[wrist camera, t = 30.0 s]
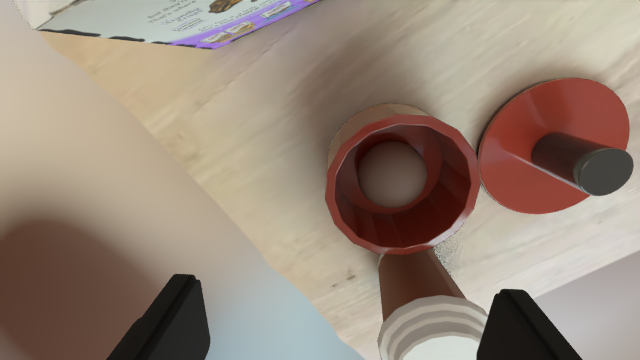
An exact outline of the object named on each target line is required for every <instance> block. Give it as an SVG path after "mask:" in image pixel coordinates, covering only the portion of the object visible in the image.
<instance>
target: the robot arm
mask: <svg viewBox="0 0 640 360" xmlns="http://www.w3.org/2000/svg"><path fill="white" fill-rule="evenodd" d="M209 347H210V334H209V328H208V323H207V317H206V312H205V305H204V299H203V294H202V288H201V282H200V280H196V278H195V276H194V275H188V274H175V275H173V276H172V277H171V279H170V280H169V282H168V283H167V284H166V286H165V287H164V288H163V289H162V291H161V292H160V293H159V295H158V296H157V298H156V299H155V300H154V301H153V303H152V304H151V306H150V307H149V308H148V310H147V311H146V312H145V314H144V315H143V316H142V317H141V318H139V319H138V320H137V321H136V322H135V323H134V324H133V325H132V326H131V328H130V329H129V330H128V332H127V333H126V334H125V336H124V337H123V338H122V339H121V341H120V342H119V344H118V345H117V346H116V347H115V349H114V350H113V351H112V353H111V354H110V355H109V357H108V358H107V359H106V360H204V359H205V357H206V355H207V353H208V350H209ZM476 358H477V360H582V359H581V357H580V356H579V355H578V354H577V352H576V351H575V350H574V349H573V348H572V346H571V345H570V344H569V343H568V342H567V340H566V339H565V338H564V337H563V336H562V334H561V333H560V332H559V331H558V329H557V328H556V327H555V326H554V325H553V323H552V322H551V321H550V320H549V319H548V317H547V316H546V315H545V314H544V313H543V311H542V310H541V309H540V308H539V307H538V305H537V304H536V303H535V302H534V300H533V299H532V298H531V297H530V296H529V294H528V293H527V292H526V291H524V290H517V289H502V290H501V291H500V293H499V294H496V295H495V296H494V299H493V302H492V306H491V309H490V312H489V315H488V318H487V321H486V325H485V328H484V331H483V334H482V337H481V341H480V344H479V347H478V350H477V354H476Z"/></svg>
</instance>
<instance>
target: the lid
mask: <svg viewBox="0 0 640 360" xmlns="http://www.w3.org/2000/svg"><path fill="white" fill-rule="evenodd" d="M629 130H630V129H629V119H628V114H627V111H626V109H625V106H624V104H623V103H622V101H621V100H620V98H619V97H618V96H617V95H616V94H615V93H614V92H613V91H612V90H611V89H609V88H608V87H606V86H605V85H602V84H600V83H598V82H595V81H592V80H589V79H582V78H560V79H554V80H550V81H546V82H543V83H540V84H537V85H535V86H533V87H531V88H529V89H527V90H525V91H523V92H522V93H520V94H519V95H517V96H516V97H514V98H513V99H512V100H510V101H509V102H508V103H507V104H506V105H505V106H504V107H503V108H502V109H501V110H500V111H499V112H498V113H497V114H496V116H495V117H494V118H493V119H492V121H491V122H490V124H489V126H488V127H487V129H486V131H485V133H484V135H483V137H482V140H481V143H480V146H479V152H478V167H479V173H480V179H481V182H482V184H483V186H484V188H485V190H486V191H487V193H488V194H489V195H490V196H491V197H492V198H493V199H494V200H495V201H497V202H498V203H499V204H501V205H502V206H504V207H506V208H508V209H510V210H513V211H516V212H520V213H526V214H545V213H551V212H556V211H560V210H563V209H566V208H568V207H571V206H573V205H575V204H577V203H579V202H581V201H583V200H584V199H586V198H587V197H589V196H590V195H593V196H603V195H607V194H610V193H612V192H614V191H616V190H618V189H619V188H621V187H622V186H623V185H624V184H625V183H626V182H627V181H628V179H629V178H630V176H631V174H632V172H633V166H634V165H633V159H632V157H631V156H630V155H629V154H628V153H627V152H626V151H625V150H626V148H627V144H628V139H629Z"/></svg>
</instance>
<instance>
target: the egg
mask: <svg viewBox="0 0 640 360" xmlns="http://www.w3.org/2000/svg"><path fill="white" fill-rule="evenodd" d="M357 178H358V183H359V186H360V189H361V191H362V192H363V194H364V195H365V196H366V197H367V198H368V199H369V200H370V201H371V202H373V203H375V204H377V205H379V206H382V207H387V208H397V207H402V206H405V205H407V204H409V203H411V202H412V201H414V200H415V199H416V198H417V197H418V196H419V195H420V194H421V192H422V191H423V189H424V187H425V184H426V181H427V168H426V164H425V161H424V159H423V158H422V156H421V155H420V153H419V152H418V151H417V150H416V149H414V148H413V147H411V146H410V145H407V144H405V143H402V142H396V141H390V142H384V143H381V144H378V145H376V146H374V147H373V148H371V149H370V150H369V151H368V152H367V153H366V154H365V155H364V156H363V158H362V159H361V161H360V164H359V167H358V173H357Z"/></svg>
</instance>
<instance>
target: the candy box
mask: <svg viewBox="0 0 640 360" xmlns="http://www.w3.org/2000/svg"><path fill="white" fill-rule="evenodd" d="M318 1H320V0H13V2H14V3H15V5H16V7H17V8H18V10H19V11H20V13H21V15H22V16H23V18H24V19H25V21H26V22H27V24H28V26H29V27H30V28H31V29H32V30H38V31H48V32H56V33H64V34H74V35H82V36H93V37H99V38H109V39H119V40H129V41H139V42H146V43H156V44H166V45H176V46H186V47H193V48H202V49H216V48H219V47H221V46H223V45H226V44H228V43H230V42H232V41H235V40H237V39H238V38H240V37H242V36H245V35H247V34H249V33H252V32H254V31H256V30H258V29H260V28H262V27H264V26H267V25H269V24H271V23H274V22H276V21H278V20H280V19H282V18H284V17H287V16H289V15H291V14H293V13H295V12H297V11H299V10H301V9H303V8H306V7H308V6H310V5H312V4H314V3H316V2H318Z"/></svg>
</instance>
